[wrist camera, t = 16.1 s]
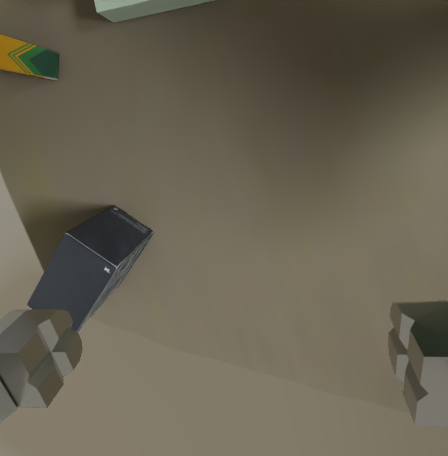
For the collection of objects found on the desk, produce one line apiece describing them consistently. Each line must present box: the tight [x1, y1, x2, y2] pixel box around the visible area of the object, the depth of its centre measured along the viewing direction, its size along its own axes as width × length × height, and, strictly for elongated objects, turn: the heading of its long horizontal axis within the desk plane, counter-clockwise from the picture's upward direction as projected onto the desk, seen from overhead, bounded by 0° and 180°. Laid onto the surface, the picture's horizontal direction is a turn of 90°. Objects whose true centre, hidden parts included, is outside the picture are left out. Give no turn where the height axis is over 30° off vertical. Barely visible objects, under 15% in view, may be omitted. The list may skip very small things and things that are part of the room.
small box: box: [27, 205, 153, 333], centre depth 37 cm, size 11×6×10 cm, turn 145°
